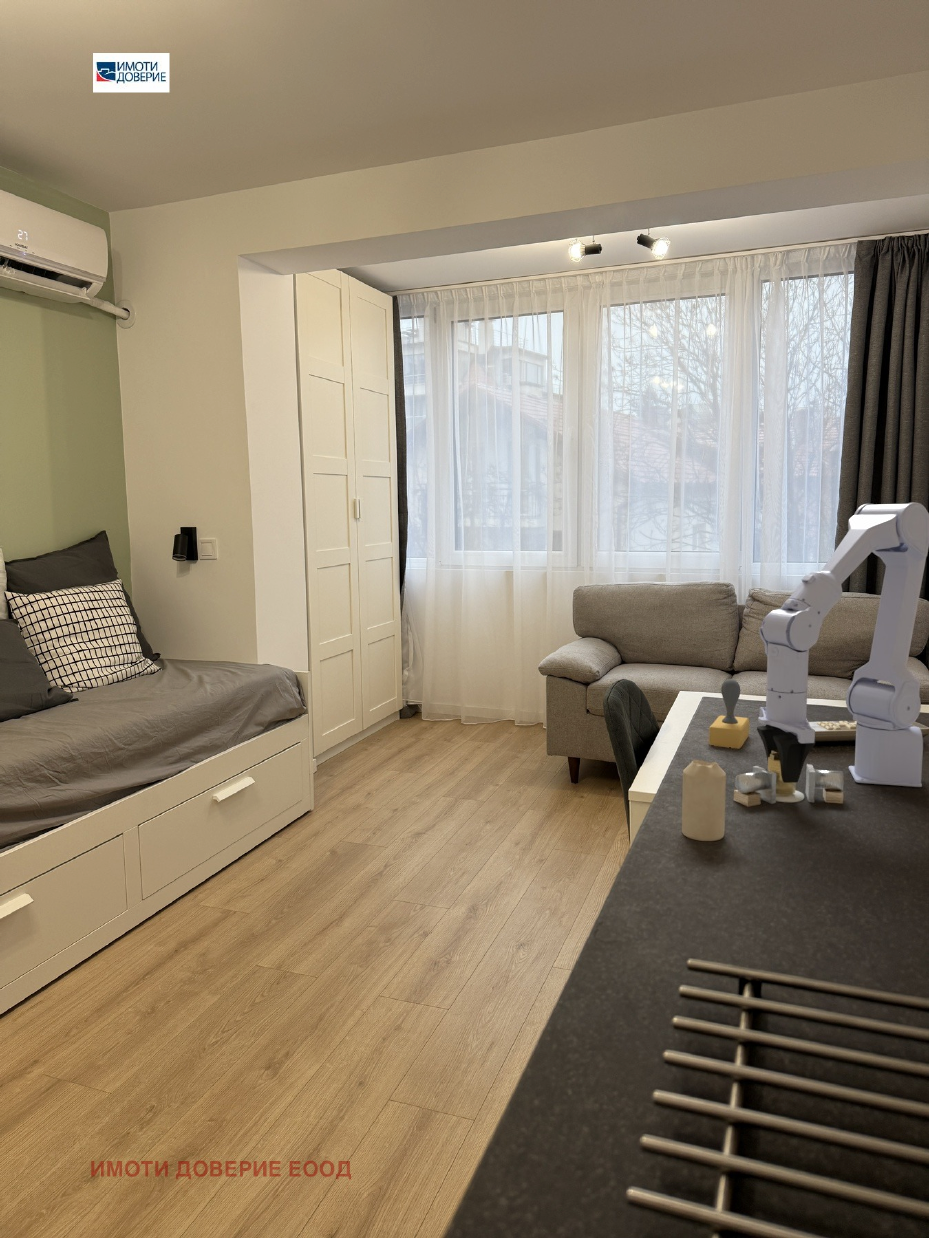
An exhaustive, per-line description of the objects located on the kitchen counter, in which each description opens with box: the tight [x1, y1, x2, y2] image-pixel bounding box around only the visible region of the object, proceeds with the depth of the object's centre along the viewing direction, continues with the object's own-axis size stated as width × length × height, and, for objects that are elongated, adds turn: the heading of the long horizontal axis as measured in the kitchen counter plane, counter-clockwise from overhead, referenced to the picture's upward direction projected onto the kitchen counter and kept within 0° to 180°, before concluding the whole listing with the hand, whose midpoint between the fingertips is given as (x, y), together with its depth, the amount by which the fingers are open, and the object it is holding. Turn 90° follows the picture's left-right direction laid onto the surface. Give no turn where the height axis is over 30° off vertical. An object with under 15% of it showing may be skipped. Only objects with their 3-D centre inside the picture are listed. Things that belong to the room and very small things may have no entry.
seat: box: [775, 789, 805, 803], centre depth 126 cm, size 6×6×1 cm
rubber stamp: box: [708, 678, 750, 749], centre depth 157 cm, size 10×6×12 cm, turn 153°
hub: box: [767, 750, 797, 795], centre depth 126 cm, size 4×4×6 cm
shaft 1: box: [733, 765, 777, 808], centre depth 124 cm, size 5×4×5 cm
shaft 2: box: [805, 763, 845, 804], centre depth 124 cm, size 5×4×5 cm
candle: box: [681, 759, 727, 842], centre depth 111 cm, size 6×6×10 cm
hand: (783, 777), depth 126 cm, fingers closed on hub, 4 cm apart
